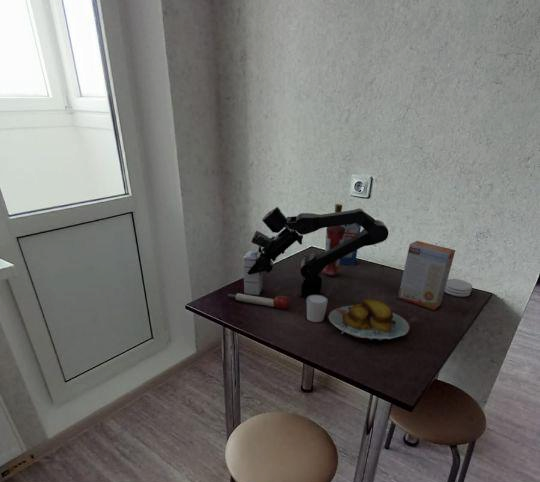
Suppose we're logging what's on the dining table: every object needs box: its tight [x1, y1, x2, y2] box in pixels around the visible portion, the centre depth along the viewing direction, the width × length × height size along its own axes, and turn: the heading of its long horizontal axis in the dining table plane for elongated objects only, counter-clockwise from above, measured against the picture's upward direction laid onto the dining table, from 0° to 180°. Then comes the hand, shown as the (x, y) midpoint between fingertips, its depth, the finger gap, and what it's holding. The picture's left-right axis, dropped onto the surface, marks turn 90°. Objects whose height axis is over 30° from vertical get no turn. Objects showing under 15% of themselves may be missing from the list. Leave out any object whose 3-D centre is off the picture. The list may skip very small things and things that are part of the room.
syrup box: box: [243, 250, 264, 296], centre depth 146 cm, size 6×6×14 cm
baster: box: [228, 292, 291, 310], centre depth 140 cm, size 22×4×4 cm, turn 73°
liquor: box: [322, 203, 345, 277], centre depth 160 cm, size 7×7×28 cm
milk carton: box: [339, 223, 362, 266], centre depth 175 cm, size 10×6×20 cm, turn 81°
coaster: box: [444, 278, 473, 298], centre depth 155 cm, size 10×10×4 cm
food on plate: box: [327, 298, 411, 341], centre depth 128 cm, size 25×25×7 cm
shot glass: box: [306, 294, 329, 323], centre depth 132 cm, size 7×7×7 cm
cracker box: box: [397, 240, 456, 311], centre depth 142 cm, size 14×6×21 cm, turn 47°
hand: (249, 270), depth 146 cm, fingers closed on syrup box, 6 cm apart
